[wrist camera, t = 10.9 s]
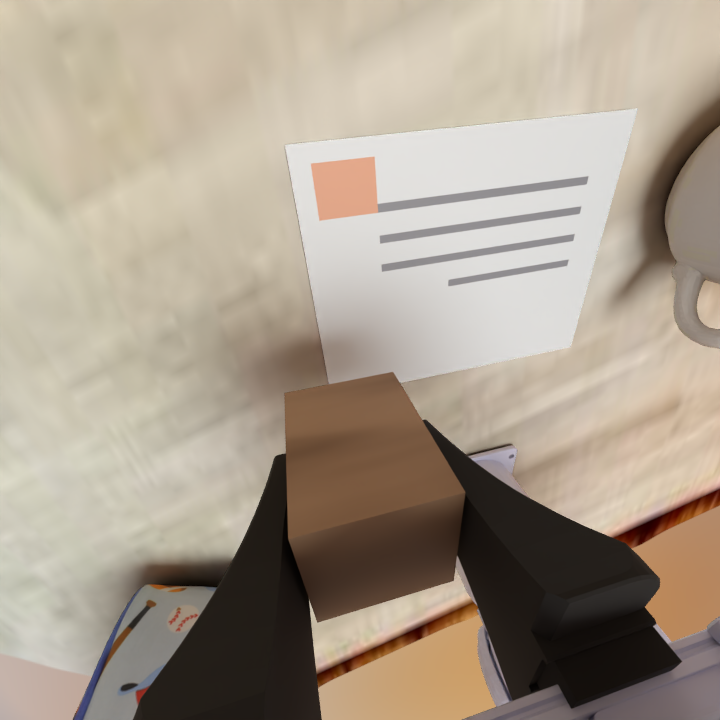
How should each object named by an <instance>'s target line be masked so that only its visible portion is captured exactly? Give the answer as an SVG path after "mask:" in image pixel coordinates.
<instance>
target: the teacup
mask: <svg viewBox="0 0 720 720" xmlns="http://www.w3.org/2000/svg"><path fill="white" fill-rule="evenodd" d="M665 228H666V233H667V235H668V242H669V246H670V249H671V252H672V255H673V256H674V258H675V260H676V264H675V266H674V267H673V269H672V277H673V279H674V280H675V281H676V282H677V285H676V291H675V297H674V317H675V321H676V323H677V325H678V328H679V329H680V330H681V332H682V333H683V334H684V335H685V336H687V337H688V338H690V339H691V340H693V341H695V342H697V343H699V344H701V345H703V346H707V347H712V348H719V349H720V329H713V328H709V327H707V326H705V325H704V324H703V323H702V322H701V321H700V319H699V317H698V313H697V299H698V296H699V292H700V289H701V287H702V284H703V282H704V281H705V280H708V281H711V282H714V283H718V284H720V126H718V127H717V128H716V129H715V130H714V131H713V132H712V133H711V134H710V135H708V136H707V137H706V139H705V140H704V141H703V142H702V143H701V144H700V145H699V146H698V147H697V149H696V150H695V151H694V152H693V154H692V155H691V156H690V157H689V159H688V160H687V162H686V163H685V165H684V166H683V168H682V169H681V171H680V173H679V175H678V176H677V178H676V180H675V182H674V185H673V187H672V190H671V192H670V195H669V198H668V201H667V205H666V209H665Z"/></svg>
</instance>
